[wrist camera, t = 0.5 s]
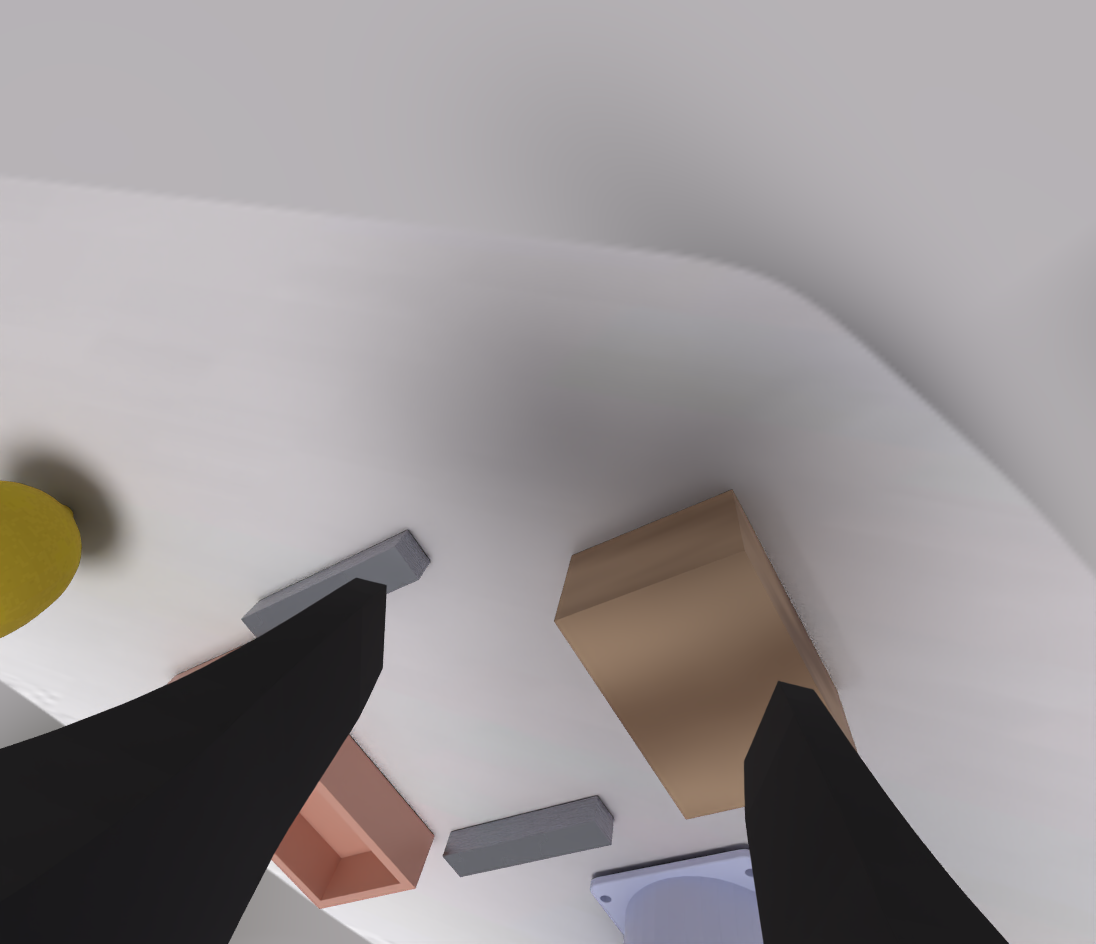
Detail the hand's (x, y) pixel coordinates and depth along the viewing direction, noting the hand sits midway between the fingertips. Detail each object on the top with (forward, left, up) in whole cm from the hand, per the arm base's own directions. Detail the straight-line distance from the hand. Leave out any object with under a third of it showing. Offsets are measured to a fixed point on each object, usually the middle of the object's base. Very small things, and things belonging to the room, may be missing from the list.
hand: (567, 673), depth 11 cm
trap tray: (-7, +20, -10) cm, 24 cm away
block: (-7, 0, -10) cm, 13 cm away
